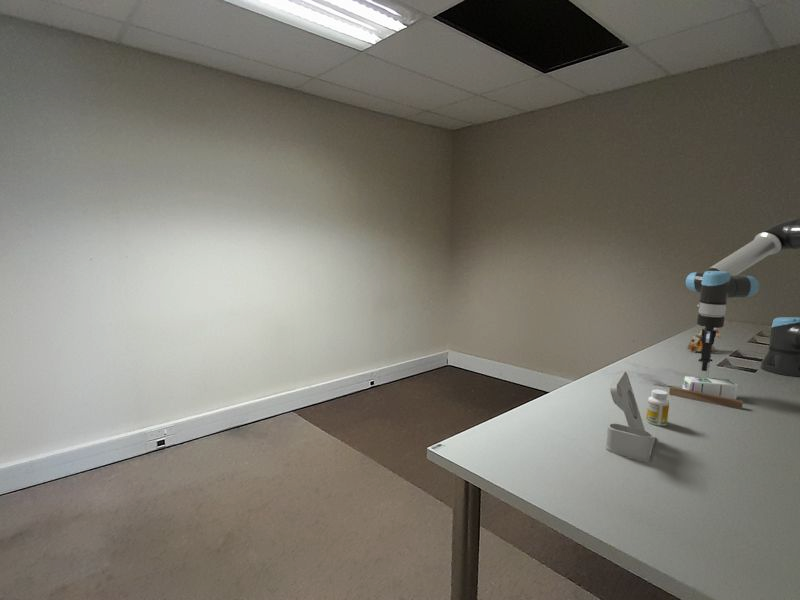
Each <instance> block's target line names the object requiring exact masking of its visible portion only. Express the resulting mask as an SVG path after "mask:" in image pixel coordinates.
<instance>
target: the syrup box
mask: <svg viewBox="0 0 800 600" xmlns="http://www.w3.org/2000/svg"><path fill="white" fill-rule="evenodd" d="M682 389H686V390H691V391H696V392H701V393H706V394H711V395H716V396H721V397H726V398H732V399H737V396H738V390H739V385H738V384H737V383H736V382H734V381H732V380H731V379H729V378H716V377H715V378H713V377H708V378H702V377H699V376H686V375H685V376H684V377H683V380H682Z"/></svg>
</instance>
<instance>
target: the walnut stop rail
mask: <svg viewBox="0 0 800 600" xmlns="http://www.w3.org/2000/svg"><path fill="white" fill-rule="evenodd" d="M668 394H670V396H674V395H675V397H679V396H680V398H684V399H689V400H693V401H700V402H704V403H708V404H714V405H718V406H722V407H723V406H724V407H727V408H733V409H739V410H742V409H743V402H744V401H743V400H741V399H737V398H736V399H732V398H726V397H721V396H716V395H711V394H706V393H701V392H696V391H691V390H686V389H683V388H680V387H677V386H676V387H674V386H670V387H669V392H668Z"/></svg>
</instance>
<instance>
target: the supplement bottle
mask: <svg viewBox="0 0 800 600" xmlns="http://www.w3.org/2000/svg"><path fill="white" fill-rule="evenodd" d="M669 411H670V401H669V399H668V392H667V391H666V390H662V389H652V390H651V396H649V397H648V398H647V408H646V417H645V418H646V421H647V422H648V423H649V424H651V425H653V426H659V427H662V426H667V425H668V419H669Z"/></svg>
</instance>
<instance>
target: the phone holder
mask: <svg viewBox="0 0 800 600" xmlns="http://www.w3.org/2000/svg"><path fill="white" fill-rule="evenodd" d="M609 390H610V392H609V393H610V396H611V399H612V401H613V403H614V404H615V405H616V406H617V408H619V409H620V410H621V411H622V412H623V413H624V416H625V419H626V422H627V423H626V424H627V425H628V426H627V425H623V424H620V423H609V424H608V426H607V434H606V435H607V436H606V445H605V450H606V451H607V452H609V453H613V454H616V455H619V456H623V457H626V458H630V459H633V460H637V461H640V462H645V463H646V462H650V460H651V455H652V451H653V448H654V445H655V442H656V438H657V437H656V435H655V434H653V433H651V432H648V431H646V429H645V426H644V423H643V419H642V416H641V412H640V410H639V406H638V403H637V400H636V397H635V394H634V390H633V388H632V384H631V380H630V377H629V375H628V373H627V371H623V372H622V371H621V372H618V374H617V375H616V376H615V378H614V380H612V382H611V384H610V386H609Z"/></svg>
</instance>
